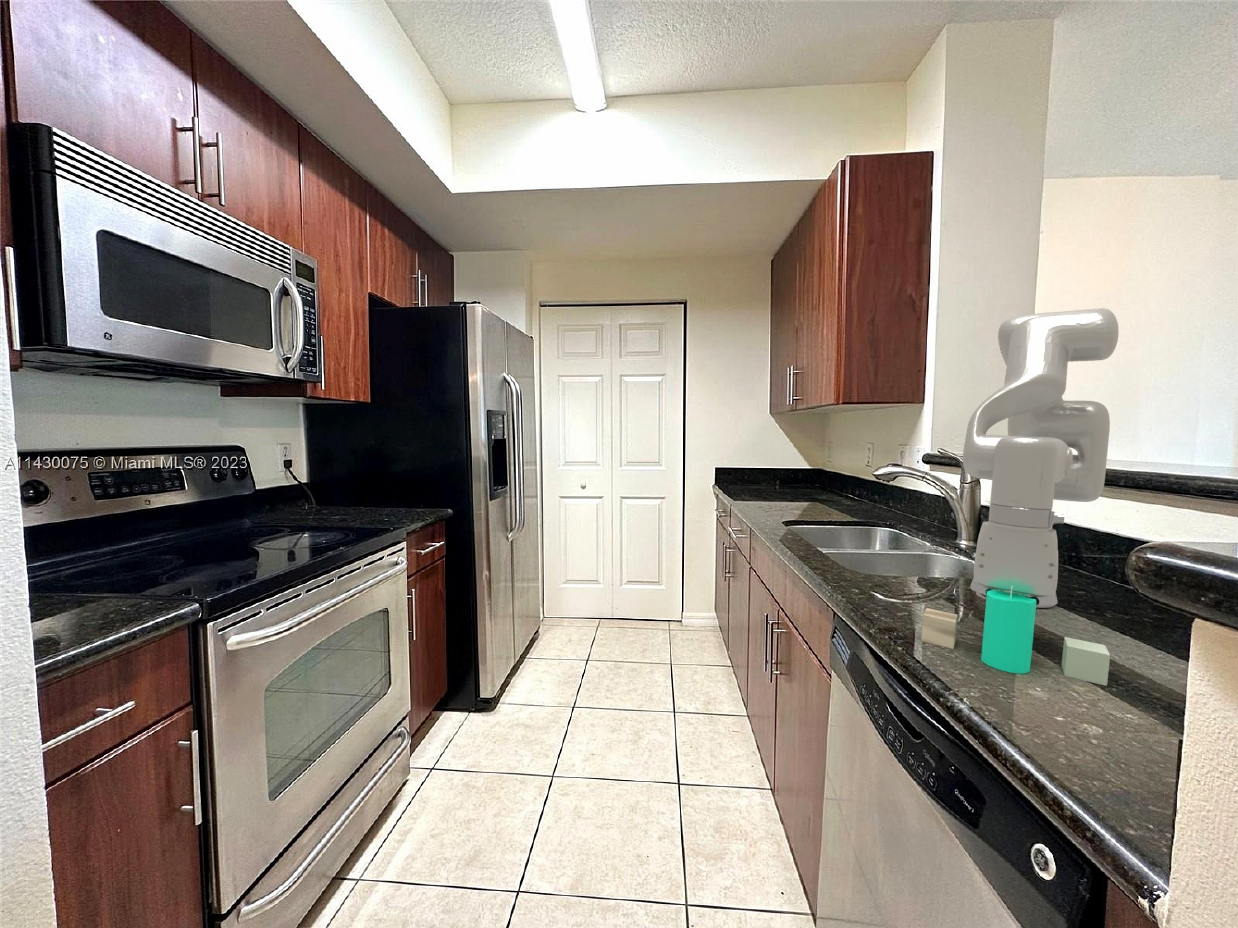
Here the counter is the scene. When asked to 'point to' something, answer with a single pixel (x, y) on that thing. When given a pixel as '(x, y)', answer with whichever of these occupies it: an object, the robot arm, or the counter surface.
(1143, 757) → the counter surface
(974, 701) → the counter surface
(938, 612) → the birch block
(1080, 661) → the sage block
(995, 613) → the candle
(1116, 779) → the counter surface
